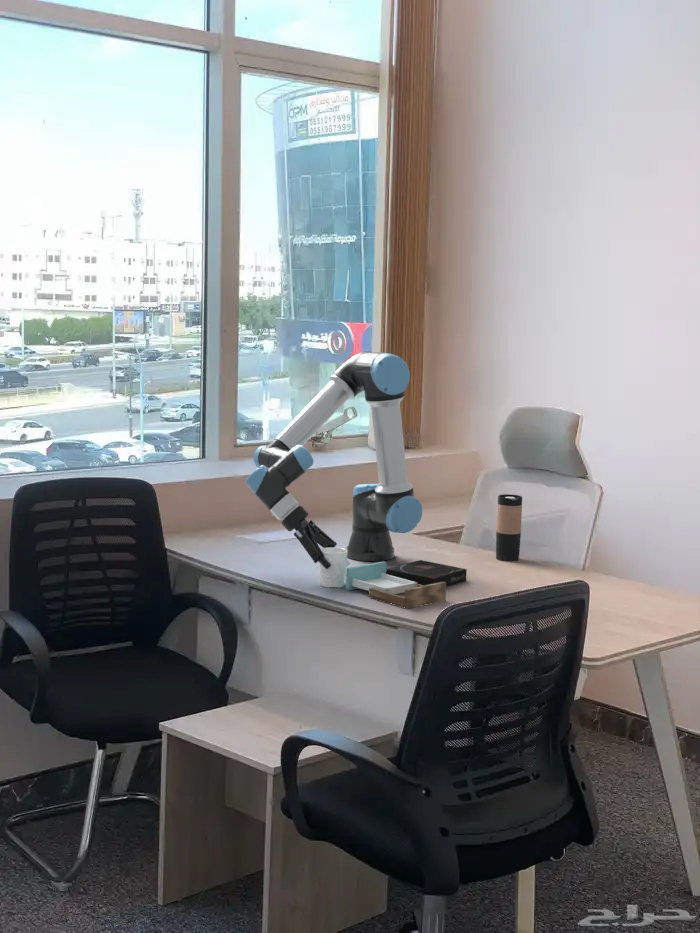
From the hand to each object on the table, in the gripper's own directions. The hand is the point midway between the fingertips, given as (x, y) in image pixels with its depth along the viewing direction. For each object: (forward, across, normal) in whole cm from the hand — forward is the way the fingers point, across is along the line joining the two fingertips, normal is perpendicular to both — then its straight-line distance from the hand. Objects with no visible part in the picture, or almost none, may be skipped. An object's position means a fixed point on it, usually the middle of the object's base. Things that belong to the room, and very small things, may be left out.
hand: (342, 571), depth 326 cm
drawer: (+17, +9, +11) cm, 23 cm away
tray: (+11, +3, +6) cm, 13 cm away
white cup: (+1, 0, -5) cm, 5 cm away
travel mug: (+33, -50, +27) cm, 66 cm away
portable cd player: (+19, -13, +12) cm, 26 cm away
